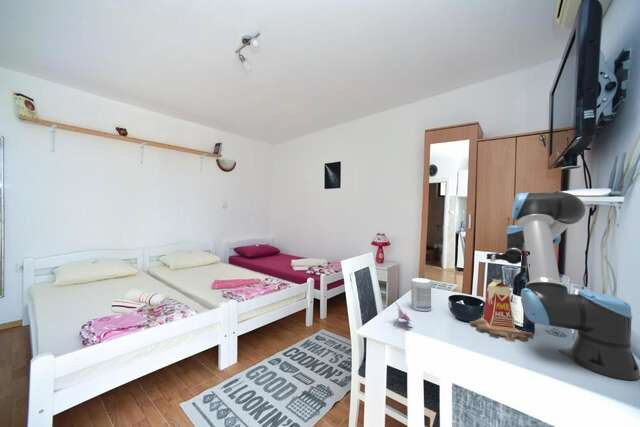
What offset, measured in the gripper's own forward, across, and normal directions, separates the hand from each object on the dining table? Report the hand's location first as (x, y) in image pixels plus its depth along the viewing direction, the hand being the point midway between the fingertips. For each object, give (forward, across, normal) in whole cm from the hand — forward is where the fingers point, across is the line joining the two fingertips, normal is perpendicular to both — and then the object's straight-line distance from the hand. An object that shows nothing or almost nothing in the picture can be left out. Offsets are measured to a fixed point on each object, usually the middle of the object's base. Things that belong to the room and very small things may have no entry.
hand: (510, 260), depth 118 cm
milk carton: (+12, +3, -26) cm, 29 cm away
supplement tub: (+11, +36, -28) cm, 47 cm away
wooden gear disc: (+12, +3, -28) cm, 31 cm away
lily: (+36, +36, -29) cm, 58 cm away
